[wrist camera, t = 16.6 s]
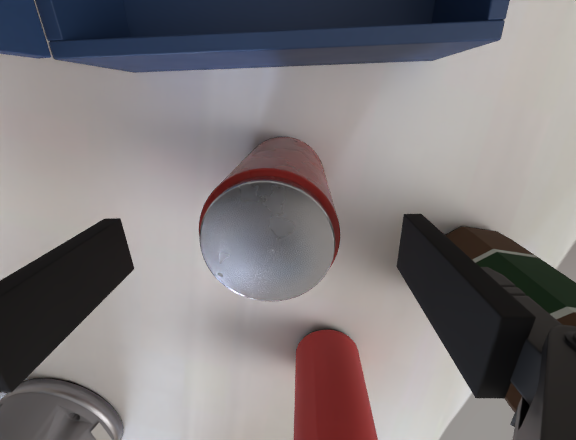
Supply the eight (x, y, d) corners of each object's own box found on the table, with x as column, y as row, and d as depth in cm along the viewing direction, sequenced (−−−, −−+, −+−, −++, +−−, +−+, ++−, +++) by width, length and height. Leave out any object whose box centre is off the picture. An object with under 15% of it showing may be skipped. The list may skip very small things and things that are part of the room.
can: (247, 215, 25) (203, 306, 14) (240, 137, 22) (179, 174, 11) (323, 214, 25) (339, 307, 13) (324, 135, 22) (346, 171, 11)
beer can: (312, 317, 29) (318, 450, 18) (368, 339, 30) (407, 480, 19) (286, 358, 31) (277, 498, 20) (338, 378, 32) (357, 522, 21)
